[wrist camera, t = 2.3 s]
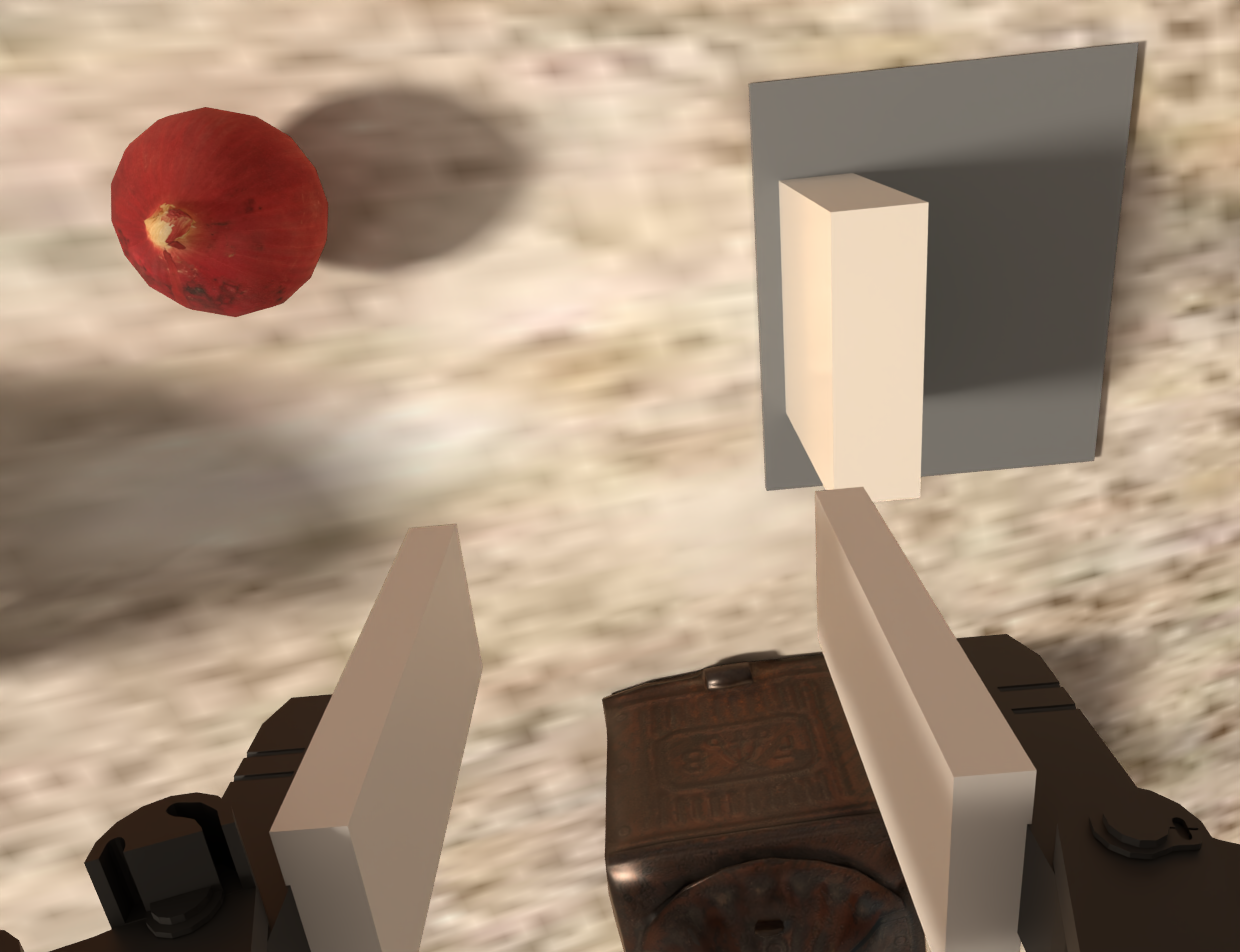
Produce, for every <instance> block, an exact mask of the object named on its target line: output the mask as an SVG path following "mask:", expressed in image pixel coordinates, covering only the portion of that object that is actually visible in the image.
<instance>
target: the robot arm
mask: <svg viewBox="0 0 1240 952" xmlns="http://www.w3.org/2000/svg"><path fill="white" fill-rule="evenodd" d="M815 524H816V576H817V627H818V641H819V644H820V646H821V649H822V652H823V655H824V657H825V660H826V663H827V666H828V668H829V671H830V674H831V677H832V679H833V682H834V685H835V688H836V690H837V693H838V696H839V699H840V702H841V704H842V707H843V710H844V713H845V715H846V718H847V721H848V724H849V726H850V729H851V732H852V735H853V737H854V740H855V743H856V746H857V748H858V751H859V754H860V757H861V759H862V762H863V765H864V768H865V770H866V773H867V776H868V779H869V782H870V784H871V787H872V790H873V793H874V795H875V798H876V801H877V804H878V806H879V809H880V812H881V815H882V817H883V820H884V823H885V826H886V828H887V831H888V834H889V837H890V839H891V842H892V845H893V848H894V850H895V853H896V856H897V859H898V862H899V864H900V867H901V870H902V873H903V875H904V878H905V881H906V884H907V886H908V889H909V892H910V895H911V897H912V900H913V903H914V906H915V908H916V911H917V914H918V917H919V919H920V922H921V925H922V928H923V930H924V933H925V936H926V939H927V942H928V944H929V947H930V950H931V952H1020V944H1021V942H1022V944H1023V946H1024V948H1025V950H1026V952H1240V845H1239V844H1235V843H1231V842H1226V841H1222V840H1218V839H1215V838H1212V837H1211V835H1210V834H1209V832H1208V831H1207V829H1206V828H1205V826H1204V825H1203V823H1202V822H1201V821H1200V820H1199V819H1198V818H1196V817H1195V816H1194V815H1192V814H1191V813H1190V812H1189V811H1187V810H1186V809H1185V808H1184V807H1182V806H1181V805H1180V804H1178V803H1176V802H1174V801H1172V800H1170V799H1168V798H1165V797H1163V796H1161V795H1159V794H1157V793H1155V792H1152V791H1150V790H1145V789H1141V788H1137V787H1136V785H1135V784H1134V783H1133V781H1132V780H1131V779H1130V777H1129V776H1128V774H1127V773H1126V772H1125V770H1124V769H1123V768H1122V766H1121V765H1120V764H1119V762H1118V761H1117V760H1116V758H1115V757H1114V756H1113V754H1112V753H1111V751H1110V750H1109V749H1108V747H1107V746H1106V745H1105V743H1104V742H1103V741H1102V739H1101V738H1100V737H1099V735H1098V734H1097V732H1096V731H1095V730H1094V728H1093V727H1092V726H1091V724H1090V723H1089V722H1088V720H1087V719H1086V718H1085V716H1084V715H1083V714H1082V712H1081V711H1080V709H1076V707H1075V703H1074V701H1073V700H1072V699H1071V697H1070V696H1069V695H1068V693H1067V692H1066V691H1065V689H1064V688H1063V687H1060V685H1059V681H1058V680H1057V678H1056V677H1055V676H1054V674H1053V673H1052V672H1051V670H1050V669H1049V667H1048V666H1047V665H1046V663H1045V662H1044V661H1043V659H1042V658H1041V657H1040V655H1038V654H1037V653H1035V652H1034V651H1032V650H1030V649H1029V648H1027V647H1026V646H1024V645H1023V644H1021V643H1020V642H1018V641H1016V640H1015V639H1013V638H1012V637H1010V636H1009V635H1007V634H1002V635H990V636H979V637H967V638H955V636H954V634H953V633H952V631H951V629H950V628H949V626H948V625H947V623H946V621H945V620H944V618H943V616H942V615H941V613H940V611H939V610H938V608H937V607H936V605H935V603H934V602H933V600H932V598H931V597H930V595H929V593H928V592H927V590H926V588H925V587H924V585H923V584H922V582H921V580H920V579H919V577H918V575H917V574H916V572H915V570H914V569H913V567H912V566H911V564H910V562H909V561H908V559H907V557H906V556H905V554H904V552H903V551H902V549H901V548H900V546H899V544H898V543H897V541H896V539H895V538H894V536H893V534H892V533H891V531H890V530H889V528H888V526H887V525H886V523H885V521H884V520H883V518H882V516H881V515H880V513H879V512H878V510H877V508H876V507H875V505H874V503H873V502H872V500H871V498H870V497H869V495H868V494H867V492H866V490H865V489H864V487H854V488H843V489H832V490H821V491H815ZM482 669H483V665H482V660H481V655H480V649H479V644H478V638H477V633H476V628H475V622H474V617H473V611H472V606H471V600H470V595H469V590H468V584H467V579H466V573H465V568H464V562H463V557H462V552H461V546H460V541H459V535H458V530H457V524H448V525H438V526H427V527H416V528H409V530H408V532H407V534H406V536H405V539H404V541H403V543H402V545H401V547H400V549H399V552H398V554H397V556H396V558H395V560H394V562H393V565H392V567H391V569H390V571H389V573H388V575H387V578H386V580H385V582H384V584H383V586H382V588H381V591H380V593H379V595H378V597H377V599H376V601H375V604H374V606H373V608H372V610H371V612H370V614H369V617H368V619H367V621H366V623H365V625H364V627H363V630H362V632H361V634H360V636H359V638H358V640H357V643H356V645H355V647H354V649H353V651H352V653H351V656H350V658H349V660H348V662H347V664H346V666H345V669H344V671H343V673H342V675H341V677H340V680H339V682H338V684H337V686H336V688H335V690H334V693H333V694H331V695H319V696H308V697H296V698H291V699H290V700H289V701H287V702H286V703H285V704H284V705H283V706H282V707H281V708H280V709H279V710H277V711H276V712H275V713H274V714H273V715H272V716H271V717H270V718H269V719H267V720H266V721H265V722H264V723H263V724H262V726H261V728H260V729H259V731H258V733H257V735H256V737H255V739H254V740H253V742H252V744H251V746H250V748H249V750H248V751H247V758H244V759H243V760H242V762H241V764H240V766H239V768H238V770H237V771H236V773H235V775H234V782H230V784H229V786H228V788H227V790H226V791H225V793H224V795H223V797H222V799H221V798H220V797H219V796H216V795H210V794H203V793H197V792H196V793H189V794H182V795H175V796H170V797H167V798H164V799H162V800H159V801H156V802H154V803H151V804H148V805H146V806H143V807H141V808H140V809H138V810H136V811H135V812H133V813H131V814H130V815H128V816H126V817H125V818H123V819H122V820H120V821H118V822H117V823H116V824H114V825H113V826H112V827H111V828H110V829H109V830H108V831H107V832H106V833H105V834H104V835H103V836H102V837H101V838H100V839H99V840H98V841H97V842H96V843H95V845H94V846H93V848H92V850H91V852H90V853H89V855H88V857H87V859H86V861H85V862H84V864H85V866H86V868H87V871H88V873H89V875H90V878H91V880H92V883H93V885H94V887H95V890H96V892H97V894H98V897H99V899H100V902H101V904H102V906H103V909H104V911H105V913H106V916H107V918H108V921H109V923H110V925H111V928H112V930H109V931H107V932H105V933H102V934H100V935H97V936H95V937H92V938H89V939H86V940H83V941H80V942H77V943H74V944H71V945H68V946H65V947H62V948H59V949H56V950H53V951H50V952H419V947H420V943H421V939H422V934H423V930H424V925H425V921H426V917H427V912H428V908H429V903H430V899H431V894H432V890H433V886H434V881H435V877H436V872H437V868H438V864H439V859H440V855H441V850H442V846H443V841H444V837H445V833H446V828H447V824H448V819H449V815H450V810H451V806H452V802H453V797H454V793H455V788H456V784H457V780H458V775H459V771H460V766H461V762H462V757H463V753H464V749H465V744H466V740H467V735H468V731H469V727H470V722H471V718H472V713H473V709H474V704H475V700H476V696H477V691H478V687H479V682H480V678H481V673H482ZM0 952H24V950H23V948H22V946H21V944H20V942H19V940H18V939H16V938H15V937H13V936H12V935H11V934H9V933H8V932H6V931H5V930H0Z"/></svg>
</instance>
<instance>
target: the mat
mask: <svg viewBox="0 0 1240 952" xmlns="http://www.w3.org/2000/svg"><path fill="white" fill-rule="evenodd" d="M1137 51H1138V43H1128V44H1118V45H1109V46H1100V47H1090V48H1081V49H1071V50H1062V51H1052V52H1043V53H1034V54H1024V55H1015V56H1005V57H996V58H986V59H977V60H967V61H958V62H949V63H939V64H930V65H920V66H911V67H901V68H892V69H883V70H873V71H864V72H854V73H845V74H835V75H826V76H817V77H807V78H798V79H788V80H779V81H769V82H760V83H751V84H749V101H750V125H751V149H752V173H753V197H754V221H755V245H756V270H757V294H758V318H759V342H760V366H761V390H762V415H763V439H764V463H765V487H766V490H767V491H769V490H780V489H791V488H802V487H813V486H823V484H822V482H821V480H820V478H819V476H818V474H817V472H816V470H815V468H814V466H813V464H812V462H811V460H810V458H809V456H808V454H807V452H806V451H805V449H804V447H803V445H802V443H801V441H800V439H799V437H798V435H797V433H796V431H795V429H794V427H793V425H792V423H791V421H790V419H789V417H788V416H787V414H786V399H785V367H784V335H783V302H782V270H781V238H780V206H779V180H789V179H799V178H809V177H818V176H828V175H838V174H848V173H854V174H857V175H859V176H862V177H864V178H867V179H870V180H872V181H875V182H877V183H880V184H882V185H885V186H888V187H890V188H893V189H895V190H898V191H900V192H903V193H906V194H908V195H911V196H913V197H916V198H918V199H921V200H924V201H926V202H929V205H928V240H927V275H926V310H925V345H924V380H923V415H922V449H921V477H923V476H934V475H945V474H956V473H967V472H978V471H989V470H1000V469H1011V468H1022V467H1033V466H1043V465H1054V464H1065V463H1076V462H1087V461H1094V457H1095V448H1096V438H1097V429H1098V420H1099V410H1100V401H1101V391H1102V382H1103V372H1104V363H1105V353H1106V344H1107V335H1108V325H1109V316H1110V306H1111V297H1112V287H1113V278H1114V268H1115V259H1116V250H1117V240H1118V231H1119V221H1120V212H1121V202H1122V193H1123V183H1124V174H1125V165H1126V155H1127V146H1128V136H1129V127H1130V117H1131V108H1132V98H1133V89H1134V80H1135V70H1136V61H1137Z"/></svg>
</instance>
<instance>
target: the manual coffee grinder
mask: <svg viewBox="0 0 1240 952" xmlns="http://www.w3.org/2000/svg"><path fill="white" fill-rule="evenodd" d="M602 702H603V708H604V714H605V721H606V727H607V776H606V834H605V862H606V872H607V882H608V891H609V897H610V901H611V904H612V909H613V913H614V917H615V921H616V924H617V928H618V931H619V935H620V939H621V942H622V946H623V949H624V952H927V950H926V938H925V933H924V930H923V928H922V925H921V922H920V919H919V917H918V914H917V911H916V908H915V906H914V903H913V900H912V897H911V895H910V892H909V889H908V886H907V884H906V881H905V878H904V875H903V873H902V870H901V867H900V864H899V862H898V859H897V856H896V853H895V850H894V848H893V845H892V842H891V839H890V837H889V834H888V831H887V828H886V826H885V823H884V820H883V817H882V815H881V812H880V809H879V806H878V804H877V801H876V798H875V795H874V793H873V790H872V787H871V784H870V782H869V779H868V776H867V773H866V770H865V768H864V765H863V762H862V759H861V757H860V754H859V751H858V748H857V746H856V743H855V740H854V737H853V735H852V732H851V729H850V726H849V724H848V721H847V718H846V715H845V713H844V710H843V707H842V704H841V702H840V699H839V696H838V693H837V690H836V688H835V685H834V682H833V679H832V677H831V674H830V671H829V668H828V666H827V663H826V660H825V657H824V655H823V654H822V655H813V656H804V657H795V658H786V659H776V660H766V661H755V662H742V663H735V664H726V665H721V666H716V667H711V668H706V669H703V670H701V671H698V672H696V673H692V674H687V675H682V676H678V677H673V678H668V679H663V680H658V681H653V682H649V683H645V684H642V685H639V686H636V687H633V688H630V689H627V690H625V691H622V692H619V693H616V694H613V695H610V696H607V697H604V698H603V699H602Z"/></svg>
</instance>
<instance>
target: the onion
mask: <svg viewBox="0 0 1240 952" xmlns="http://www.w3.org/2000/svg"><path fill="white" fill-rule="evenodd" d="M111 219H112V223H113V226H114V228H115V231H116V234H117V236H118V239H119V242H120V244H121V247H122V249H123V252H124V255H125V256H126V257H127V259H128V260H129V261H130V262H131V264H132V265H133V266H134V267H135V269H136V270H137V271H138V273H139V274H140V275H141V276H142V278H143V279H144V280H145V281H146V283H147V284H148V285H149V286H150V287H152V288H153V289H155V290H157V291H159V292H160V293H162V294H164V295H165V296H167V297H169V298H171V299H172V300H174V301H176V302H177V303H179V304H181V305H183V306H184V307H186V308H189V309H192V310H198V311H204V312H209V313H215V314H221V315H226V316H232V317H238V316H241V315H245V314H248V313H252V312H255V311H259V310H263V309H266V308H270V307H273V306H276V305H279V304H282V303H284V302H285V301H286V300H287V299H288V298H289V297H290V296H292V295H293V294H294V293H295V292H296V291H297V290H298V289H299V288H300V287H301V286H302V285H303V284H304V283H306V282H307V281H308V280H309V279H310V278H311V276H312V274H313V271H314V269H315V267H316V264H317V262H318V260H319V257H320V255H321V253H322V250H323V248H324V246H325V243H326V240H327V223H328V202H327V199H326V197H325V194H324V191H323V188H322V185H321V183H320V180H319V177H318V174H317V171H316V169H315V167H314V166H313V165H312V163H311V162H310V161H309V160H308V158H307V157H306V156H305V155H304V153H303V152H302V151H301V150H300V148H299V147H298V146H297V144H296V143H295V142H294V141H293V139H292V138H291V137H290V136H288V135H286V134H285V133H283V132H281V131H280V130H278V129H276V128H275V127H273V126H271V125H270V124H268V123H266V122H264V121H263V120H261V119H259V118H258V117H256V116H251V115H246V114H240V113H235V112H230V111H224V110H219V109H213V108H208V107H204V108H200V109H196V110H191V111H187V112H183V113H179V114H174V115H170V116H167V117H165V118H162V119H159V120H157V121H156V122H155V123H154V124H153V125H152V126H150V127H149V128H148V129H147V130H146V131H144V132H143V133H142V134H141V135H140V136H139V137H137V138H136V139H135V140H134V141H133V142H131V143H130V144H129V146H128V147H127V148H126V150H125V152H124V154H123V156H122V159H121V161H120V164H119V166H118V168H117V171H116V173H115V176H114V178H113V180H112V183H111Z"/></svg>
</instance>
